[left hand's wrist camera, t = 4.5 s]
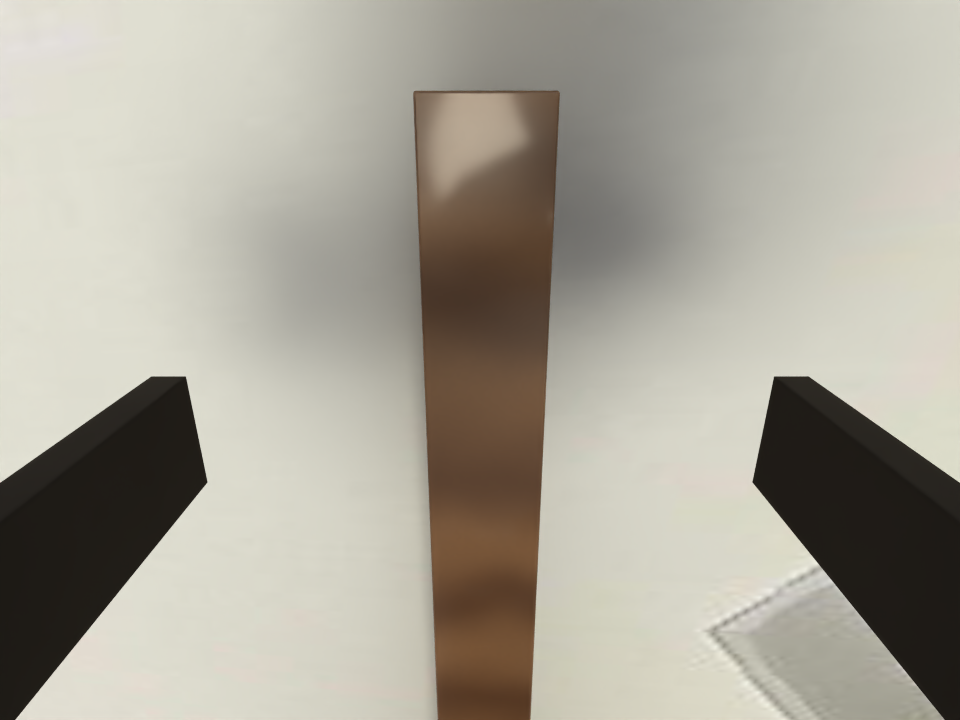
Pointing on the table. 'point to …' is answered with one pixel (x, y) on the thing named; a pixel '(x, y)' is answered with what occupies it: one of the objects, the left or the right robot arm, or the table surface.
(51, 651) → the left robot arm
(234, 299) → the table surface
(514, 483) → the beam
